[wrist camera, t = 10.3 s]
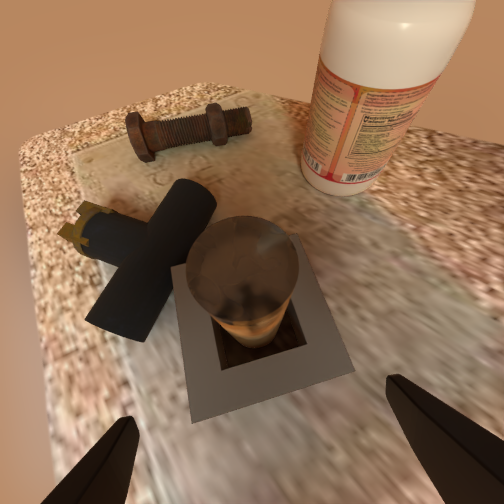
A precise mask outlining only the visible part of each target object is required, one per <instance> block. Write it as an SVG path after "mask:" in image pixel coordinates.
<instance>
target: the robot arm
mask: <svg viewBox="0 0 504 504" xmlns="http://www.w3.org/2000/svg"><path fill="white" fill-rule="evenodd" d="M386 397H387V400H388V402H389V404H390V406H391V408H392V410H393V412H394V414H395V416H396V418H397V420H398V422H399V424H400V426H401V428H402V430H403V432H404V434H405V436H406V438H407V440H408V442H409V444H410V446H411V448H412V449H413V451H414V453H415V455H416V456H417V458H418V460H419V461H420V463H421V465H422V466H423V468H424V470H425V471H426V473H427V474H428V476H429V478H430V479H431V481H432V483H433V484H434V486H435V488H436V489H437V491H438V493H439V494H440V496H441V497H442V499H443V501H444V502H445V504H504V441H503V440H502V439H500V438H499V437H497V436H496V435H494V434H492V433H491V432H489V431H488V430H486V429H485V428H483V427H482V426H480V425H478V424H477V423H475V422H474V421H472V420H471V419H469V418H467V417H466V416H464V415H463V414H461V413H460V412H458V411H457V410H455V409H453V408H452V407H450V406H449V405H447V404H446V403H444V402H443V401H441V400H439V399H438V398H436V397H435V396H433V395H432V394H430V393H429V392H427V391H425V390H424V389H422V388H421V387H419V386H418V385H416V384H414V383H413V382H411V381H410V380H408V379H407V378H405V377H404V376H402V375H400V374H393V375H388V376H387V378H386ZM139 437H140V434H139V430H138V427H137V425H136V422H135V420H134V418H133V417H132V416H126V417H121V418H119V419H118V420H117V421H116V422H115V423H114V424H113V425H112V426H111V427H110V428H109V430H108V431H107V432H106V433H105V434H104V435H103V436H102V437H101V438H100V439H99V440H98V442H97V443H96V444H95V445H94V446H93V447H92V448H91V449H90V450H89V451H88V452H87V454H86V455H85V456H84V457H83V458H82V459H81V460H80V461H79V462H78V463H77V464H76V466H75V467H74V468H73V469H72V470H71V471H70V472H69V473H68V474H67V475H66V476H65V477H64V479H63V480H62V481H61V482H60V483H59V484H58V485H57V486H56V487H55V488H54V489H53V491H52V492H51V493H50V494H49V495H48V496H47V497H46V498H45V499H44V500H43V502H42V503H41V504H125V501H126V497H127V493H128V489H129V485H130V480H131V475H132V471H133V466H134V461H135V457H136V452H137V448H138V443H139Z"/></svg>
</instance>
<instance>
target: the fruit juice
mask: <svg viewBox="0 0 504 504" xmlns="http://www.w3.org/2000/svg"><path fill="white" fill-rule="evenodd" d="M475 3H476V0H332V2H331V5H330V8H329V12H328V17H327V20H326V24H325V28H324V33H323V37H322V43H321V48H320V54H319V61H318V66H317V72H316V78H315V83H314V88H313V94H312V100H311V105H310V110H309V116H308V122H307V127H306V133H305V138H304V144H303V149H302V155H301V168H302V172H303V175H304V177H305V178H306V180H307V181H308V182H309V183H310V184H311V185H312V186H313V187H314V188H316V189H317V190H319V191H321V192H323V193H326V194H329V195H334V196H351V195H356V194H359V193H361V192H363V191H365V190H366V189H368V188H369V187H370V186H371V185H372V184H373V183H374V182H375V181H376V180H377V178H378V177H379V175H380V174H381V172H382V170H383V169H384V167H385V166H386V164H387V162H388V161H389V159H390V157H391V156H392V154H393V152H394V151H395V149H396V147H397V146H398V144H399V142H400V141H401V139H402V137H403V136H404V134H405V133H406V131H407V129H408V128H409V126H410V124H411V123H412V121H413V119H414V117H415V116H416V114H417V113H418V111H419V109H420V108H421V106H422V104H423V102H424V101H425V100H426V98H427V96H428V94H429V93H430V91H431V90H432V88H433V86H434V85H435V83H436V81H437V80H438V78H439V77H440V75H441V74H442V72H443V70H444V69H445V67H446V66H447V64H448V62H449V60H450V59H451V57H452V55H453V54H454V52H455V50H456V48H457V46H458V44H459V42H460V41H461V39H462V37H463V35H464V33H465V31H466V29H467V27H468V25H469V23H470V20H471V17H472V15H473V12H474V8H475Z"/></svg>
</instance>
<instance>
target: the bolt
mask: <svg viewBox="0 0 504 504" xmlns="http://www.w3.org/2000/svg"><path fill="white" fill-rule="evenodd" d="M125 123H126V128H127V132H128V136H129V139H130V142H131V145H132V147H133V149H134V151H135V153H136V154H137V156H138V158H139V159H140V160H141V161H143V162H146V163H147V162H152V161H155V156H154V152H155V151H160V150H164V149H167V148H170V147H171V148H172V147H175V146H176V147H177V145H178V146H179V145H181V146H182V144H183V145H185V144H186V145H187V144H190V143H191V144H192V143H194V144H195V142H196V143H197V142H199V143H200V141H201V142H202V141H204V142H205V140H206V141H207V140H209V141H210V139H211V140H212V142H213V144H214V145H215V146H220V145H225V144H226V143H227V136H228V137H229V136H231V137H232V135H233V136H235V135H236V136H237V134H238V135H239V134H241V135H242V134H244V133H245V134H247V133H248V134H249V132H251V130H252V127H251V125H252V120H251V115H250V111H249V109H248V108H247V107H243V108H242V107H241V108H239V107H238V109H237V108H235V109H234V108H233V110H232V109H230V110H229V109H228V110H225V111H224V110H223V111H222V108H221V106H220V105H219V104H217V103H212V104H208V105H207V107H206V114H204V115H203V114H202V116H201V115H199V116H198V115H197V116H195V115H194V117H193V116H191V117H190V116H189V117H187V116H186V118H185V117H183V118H182V117H181V119H180V118H178V119H177V118H175V120H174V119H173V120H171V119H170V121H169V120H168V119H167V121H166V120H164V121H163V120H162V122H161V121H150V122H145V121H144V120H143V118H142V117H141V115H140V114H139V113H138V112H132V113H128V115H127V116H126V119H125Z"/></svg>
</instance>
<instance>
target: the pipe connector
mask: <svg viewBox="0 0 504 504" xmlns="http://www.w3.org/2000/svg"><path fill="white" fill-rule="evenodd" d="M216 206H217V202H216V200H215V198H214V196H213V195H212V194H211V193H210V192H209V191H208V190H207V189H206V188H205V187H203V186H202V185H200V184H199V183H197V182H194V181H192V180H189V179H178V180H176V181H175V182H174V184H173V186H172V187H171V189H170V190H169V192H168V193H167V195H166V196H165V198H164V199H163V201H162V202H161V204H160V205H159V207H158V208H157V210H156V211H155V213H154V214H153V216H152V217H151V219H150V220H149V222H148V223H146V222H143V221H140V220H138V219H135V218H132V217H129V216H126V215H123V214H120V213H118V212H117V211H115V210H112V209H109V208H106V207H103V206H100V205H97V204H94V203H91V202H88V201H85V200H84V202H83V203H82V204H81V205H80V206H79V208H78V209H77V210H76V212H77V213H79V214H80V215H81V216H80V217H79V218H78V220H77V221H76V223H75V225H73V224H70V223H67V222H66V223H65V225H64V226H63V227H62V228H61V229H60V231H59V232H58V233H57V234H58V235H59V236H61V237H63V238H64V239H66V240H67V241H70V242H72V243H73V245H74V248H75V249H76V250H77V252H79V253H80V254H82V255H84V256H86V257H89V258H91V259H99V260H101V261H104V262H106V263H109V264H112V265H114V266H117V267H119V268H118V269H117V271H116V272H115V274H114V275H113V277H112V278H111V280H110V281H109V283H108V284H107V286H106V287H105V289H104V290H103V292H102V293H101V295H100V297H99V298H98V300H97V301H96V303H95V304H94V306H93V307H92V309H91V310H90V312H89V313H88V315H87V316H86V318H85V321H87V322H89V323H91V324H93V325H95V326H97V327H99V328H102V329H104V330H107V331H109V332H112V333H114V334H117V335H120V336H122V337H125V338H128V339H132V340H135V341H139V342H145V340H146V338H147V336H148V334H149V332H150V330H151V329H152V327H153V325H154V323H155V321H156V319H157V317H158V315H159V314H160V312H161V310H162V308H163V306H164V304H165V302H166V300H167V299H168V297H169V295H170V293H171V291H172V289H173V281H172V273H171V267H173V266H177V265H181V264H184V263H186V261H187V257H188V254H189V251H190V249H191V247H192V245H193V243H194V242H195V240H196V239H197V238H198V237H199V235H200V234H201V233H202V232H203V231H204V229H205V227H206V225H207V224H208V222H209V220H210V218H211V216H212V214H213V212H214V210H215V209H216Z"/></svg>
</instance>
